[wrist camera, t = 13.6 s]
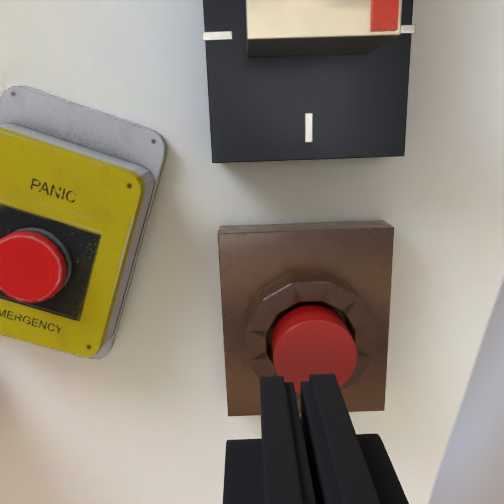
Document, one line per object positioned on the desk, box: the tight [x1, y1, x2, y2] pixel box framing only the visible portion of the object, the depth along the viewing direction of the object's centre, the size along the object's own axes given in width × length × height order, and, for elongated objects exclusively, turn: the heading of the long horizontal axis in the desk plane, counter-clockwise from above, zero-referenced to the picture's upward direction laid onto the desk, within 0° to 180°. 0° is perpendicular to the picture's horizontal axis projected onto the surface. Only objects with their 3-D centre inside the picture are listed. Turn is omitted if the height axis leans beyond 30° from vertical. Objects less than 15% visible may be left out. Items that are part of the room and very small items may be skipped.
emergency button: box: [0, 86, 166, 359], centre depth 25 cm, size 9×4×15 cm
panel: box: [203, 0, 415, 163], centre depth 23 cm, size 12×10×3 cm
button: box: [271, 304, 357, 393], centre depth 24 cm, size 4×4×2 cm
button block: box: [218, 220, 394, 416], centre depth 27 cm, size 12×10×4 cm
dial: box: [246, 0, 402, 57], centre depth 19 cm, size 6×2×5 cm, turn 92°
